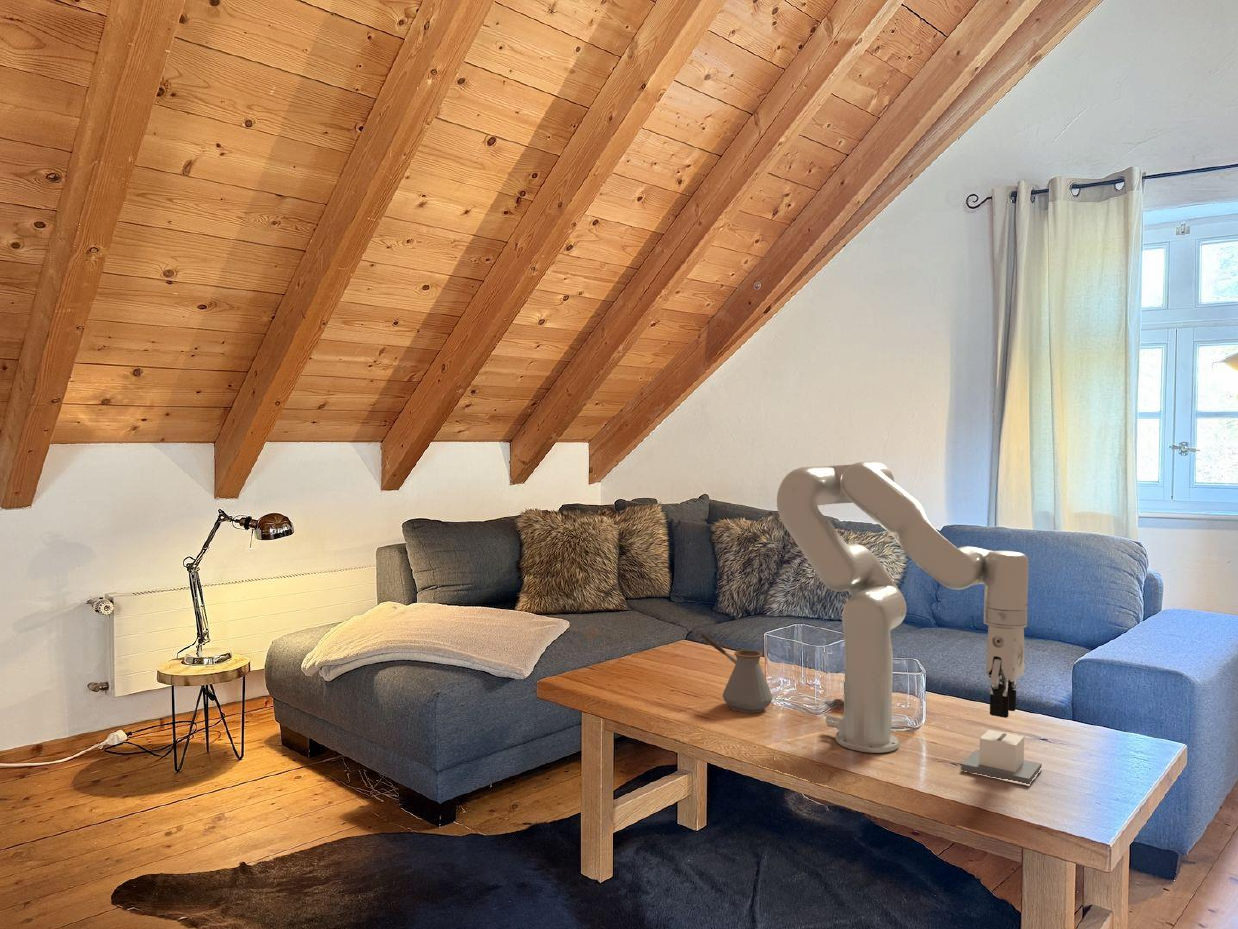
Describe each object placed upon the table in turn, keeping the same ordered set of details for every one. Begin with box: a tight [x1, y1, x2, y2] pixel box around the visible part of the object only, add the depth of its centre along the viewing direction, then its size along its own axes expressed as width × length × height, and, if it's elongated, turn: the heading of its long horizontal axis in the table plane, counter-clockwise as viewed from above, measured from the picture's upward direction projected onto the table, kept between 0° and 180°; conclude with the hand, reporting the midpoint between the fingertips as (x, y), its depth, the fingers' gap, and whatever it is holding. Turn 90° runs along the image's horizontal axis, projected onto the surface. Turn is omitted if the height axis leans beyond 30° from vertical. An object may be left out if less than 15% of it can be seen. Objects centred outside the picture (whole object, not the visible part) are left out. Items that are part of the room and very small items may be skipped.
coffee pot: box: [697, 632, 773, 714], centre depth 212 cm, size 21×12×15 cm, turn 41°
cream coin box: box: [978, 729, 1025, 772], centre depth 170 cm, size 6×6×5 cm
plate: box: [960, 749, 1043, 784], centre depth 170 cm, size 12×10×2 cm
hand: (1002, 712), depth 170 cm, fingers open, 4 cm apart
